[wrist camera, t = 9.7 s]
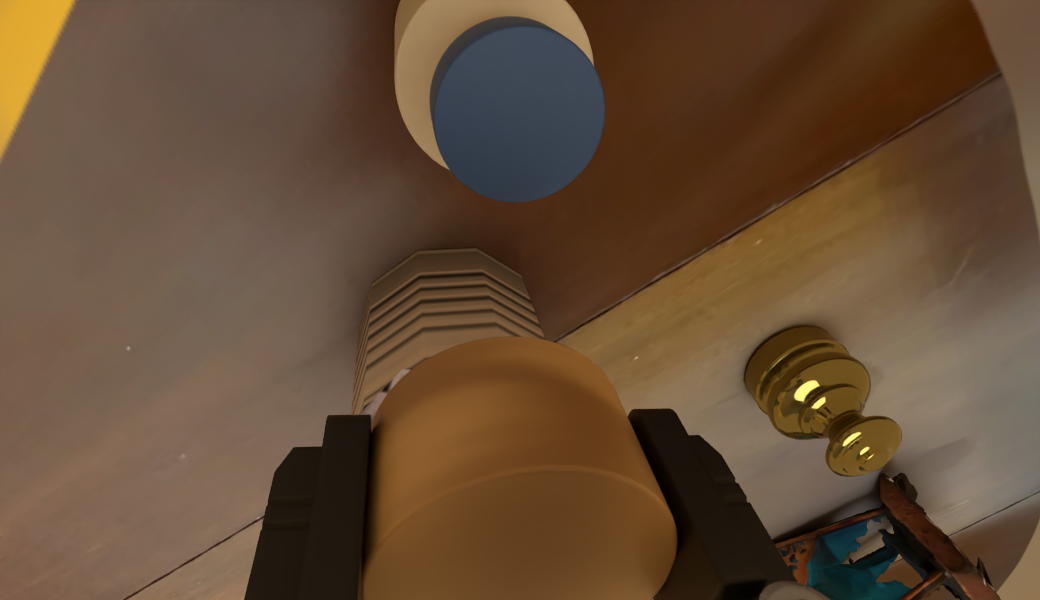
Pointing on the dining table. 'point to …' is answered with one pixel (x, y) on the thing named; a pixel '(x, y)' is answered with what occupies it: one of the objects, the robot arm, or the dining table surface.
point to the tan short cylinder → (511, 483)
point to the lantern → (885, 554)
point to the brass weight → (821, 399)
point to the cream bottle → (499, 92)
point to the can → (435, 315)
